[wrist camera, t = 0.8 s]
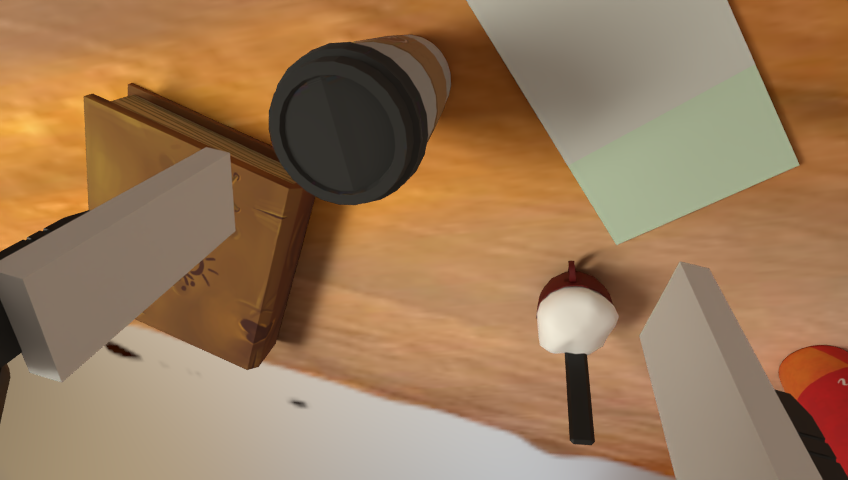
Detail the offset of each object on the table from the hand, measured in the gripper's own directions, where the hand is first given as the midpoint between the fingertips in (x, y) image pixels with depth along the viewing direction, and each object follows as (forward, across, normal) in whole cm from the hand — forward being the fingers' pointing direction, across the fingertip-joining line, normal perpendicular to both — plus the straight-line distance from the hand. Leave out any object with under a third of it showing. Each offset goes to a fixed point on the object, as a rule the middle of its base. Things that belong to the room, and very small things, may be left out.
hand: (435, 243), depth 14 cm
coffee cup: (+25, -6, -2) cm, 26 cm away
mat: (+24, +8, +3) cm, 26 cm away
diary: (+25, -25, -20) cm, 41 cm away
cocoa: (+24, +11, -17) cm, 32 cm away
